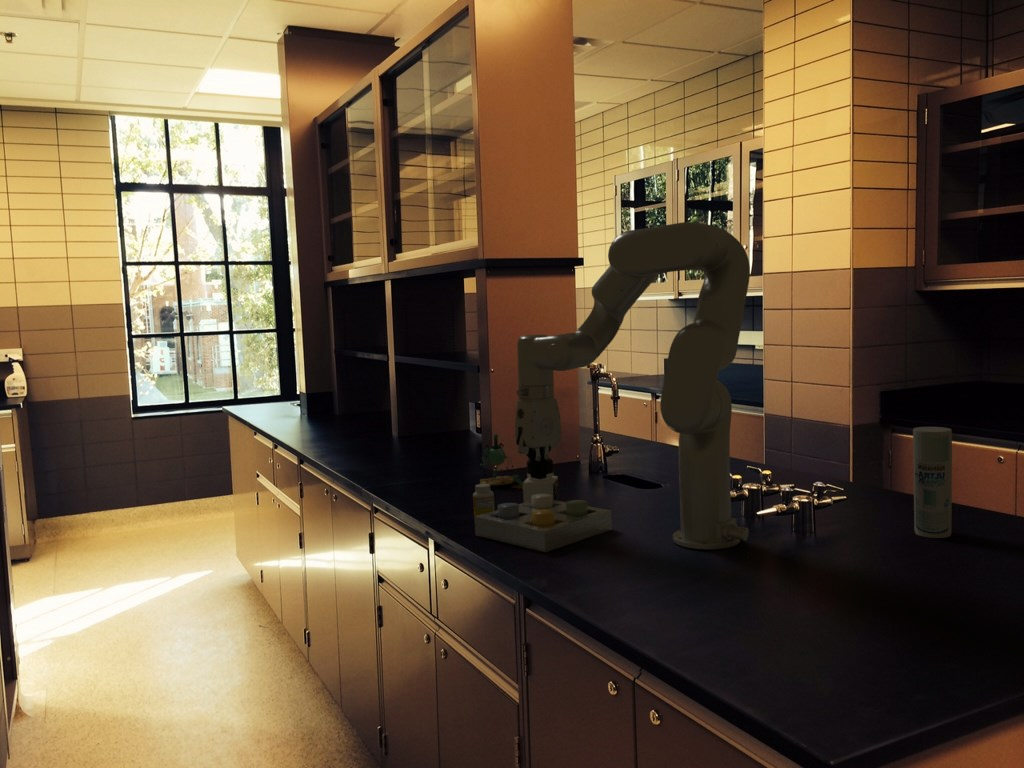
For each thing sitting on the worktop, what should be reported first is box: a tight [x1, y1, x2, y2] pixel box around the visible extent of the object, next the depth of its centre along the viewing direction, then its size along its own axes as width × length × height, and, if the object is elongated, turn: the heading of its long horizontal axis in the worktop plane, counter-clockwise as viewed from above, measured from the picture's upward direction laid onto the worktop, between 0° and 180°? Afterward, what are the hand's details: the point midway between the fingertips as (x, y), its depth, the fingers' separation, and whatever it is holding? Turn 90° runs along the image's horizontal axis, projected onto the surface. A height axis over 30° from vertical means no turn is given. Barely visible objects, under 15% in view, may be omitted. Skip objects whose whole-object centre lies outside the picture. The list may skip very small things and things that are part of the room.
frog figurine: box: [479, 433, 523, 490], centre depth 220 cm, size 10×18×15 cm, turn 30°
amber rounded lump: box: [532, 510, 555, 528], centre depth 163 cm, size 4×4×4 cm
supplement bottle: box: [472, 483, 496, 522], centre depth 180 cm, size 5×5×8 cm
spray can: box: [912, 426, 953, 539], centre depth 155 cm, size 6×6×20 cm
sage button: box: [565, 499, 588, 517], centre depth 170 cm, size 4×4×4 cm
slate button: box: [497, 502, 520, 520], centre depth 170 cm, size 4×4×4 cm
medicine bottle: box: [522, 457, 560, 503], centre depth 190 cm, size 7×7×12 cm
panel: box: [473, 500, 613, 553], centre depth 170 cm, size 20×20×4 cm
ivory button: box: [532, 494, 552, 510], centre depth 177 cm, size 4×4×4 cm
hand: (538, 477), depth 177 cm, fingers closed
